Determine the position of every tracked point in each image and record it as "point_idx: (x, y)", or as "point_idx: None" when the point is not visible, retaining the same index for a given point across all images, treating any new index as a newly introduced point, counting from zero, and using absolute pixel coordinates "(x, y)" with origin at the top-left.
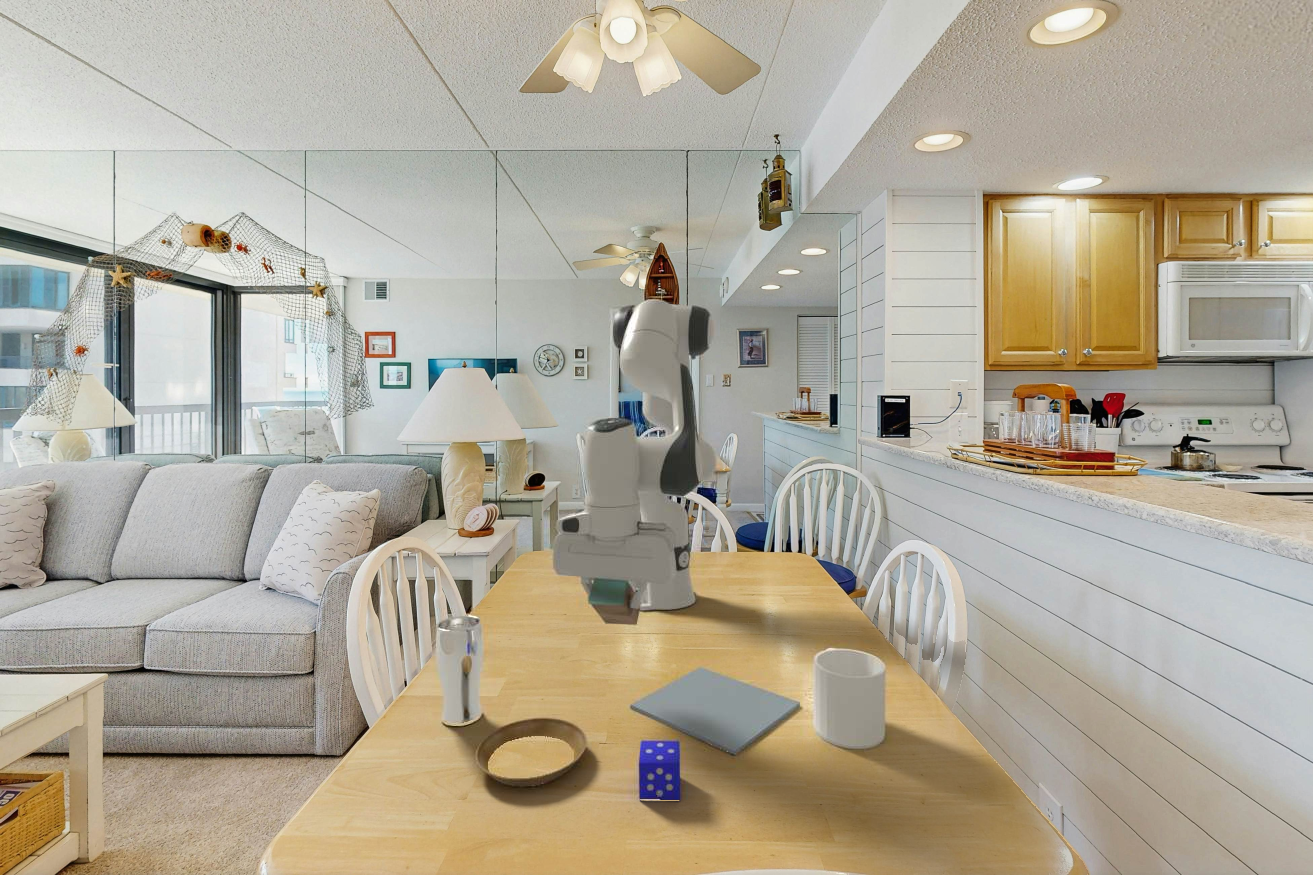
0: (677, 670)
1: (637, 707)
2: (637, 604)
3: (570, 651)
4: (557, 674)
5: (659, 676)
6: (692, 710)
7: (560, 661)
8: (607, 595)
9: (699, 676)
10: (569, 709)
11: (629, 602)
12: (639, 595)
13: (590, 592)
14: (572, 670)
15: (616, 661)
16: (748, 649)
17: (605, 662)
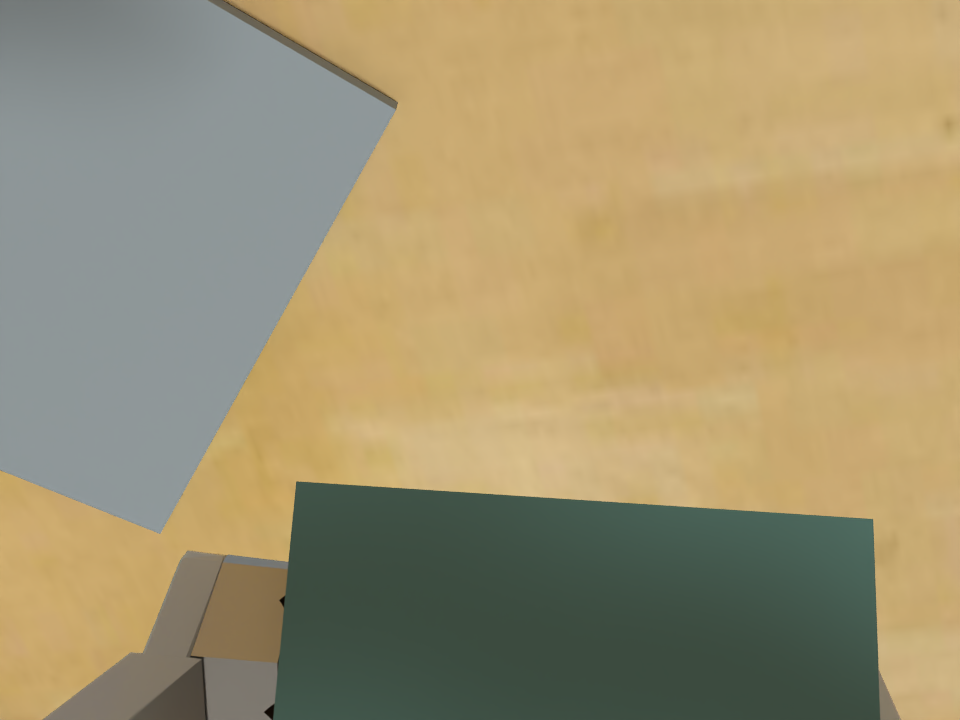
0: (273, 506)
1: (343, 81)
2: (169, 587)
3: None
4: (891, 395)
5: (343, 444)
6: (18, 101)
7: (891, 516)
8: (561, 611)
9: (127, 450)
10: (761, 28)
11: (277, 607)
12: (86, 690)
13: (877, 676)
14: (813, 443)
15: None
16: (24, 702)
17: None
